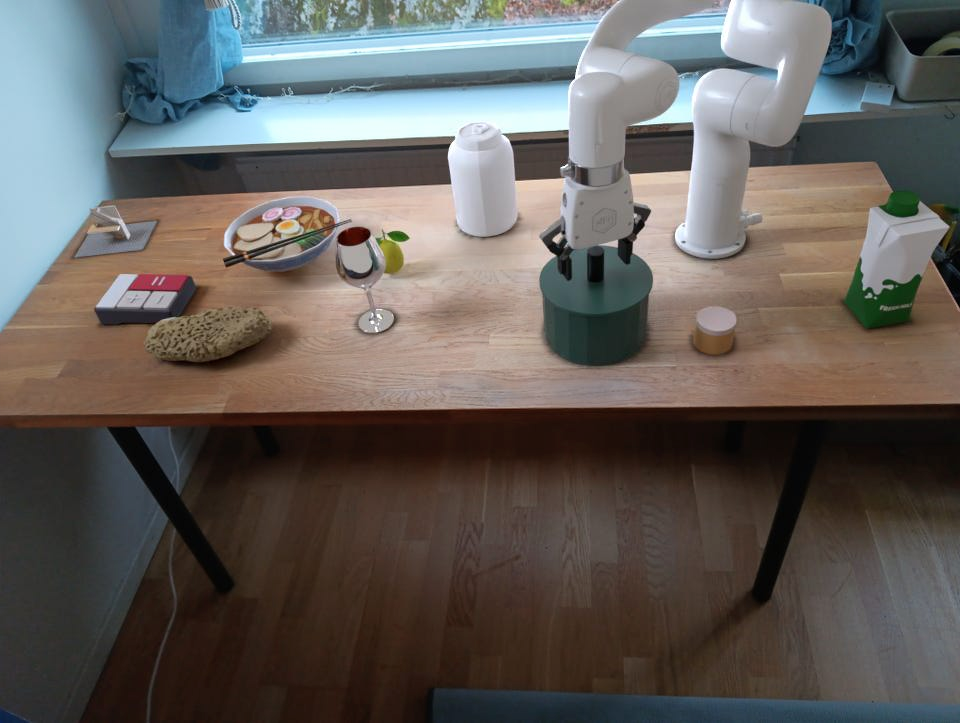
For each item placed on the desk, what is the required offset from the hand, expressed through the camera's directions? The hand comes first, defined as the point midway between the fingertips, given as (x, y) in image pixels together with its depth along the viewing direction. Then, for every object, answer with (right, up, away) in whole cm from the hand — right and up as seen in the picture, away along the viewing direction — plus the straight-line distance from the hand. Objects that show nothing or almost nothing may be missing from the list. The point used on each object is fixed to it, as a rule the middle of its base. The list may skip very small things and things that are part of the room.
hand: (595, 267), depth 112 cm
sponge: (-64, -12, +16) cm, 67 cm away
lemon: (-34, +2, +27) cm, 44 cm away
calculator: (-81, -4, +27) cm, 86 cm away
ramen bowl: (-56, +6, +34) cm, 66 cm away
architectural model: (-97, +12, +47) cm, 109 cm away
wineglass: (-36, -8, +17) cm, 41 cm away
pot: (+1, -9, +9) cm, 13 cm away
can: (-16, +14, +37) cm, 43 cm away
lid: (0, -2, +2) cm, 3 cm away
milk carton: (+46, -7, +6) cm, 47 cm away
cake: (+20, -11, +4) cm, 23 cm away
